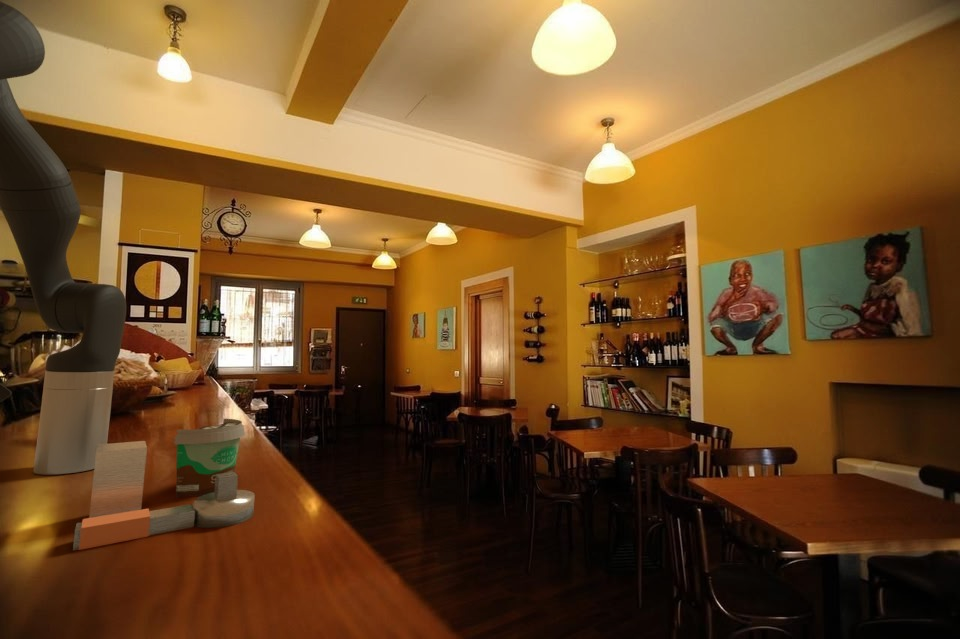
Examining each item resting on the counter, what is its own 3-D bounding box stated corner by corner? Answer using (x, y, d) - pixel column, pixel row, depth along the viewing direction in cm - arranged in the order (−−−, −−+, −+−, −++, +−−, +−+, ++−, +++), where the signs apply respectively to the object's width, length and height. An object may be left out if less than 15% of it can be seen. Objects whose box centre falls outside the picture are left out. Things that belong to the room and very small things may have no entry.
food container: (210, 501, 62) (216, 431, 63) (168, 499, 63) (175, 430, 63) (255, 477, 75) (260, 419, 76) (221, 476, 75) (226, 418, 76)
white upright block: (89, 514, 56) (97, 444, 57) (138, 506, 59) (144, 440, 60) (88, 527, 52) (96, 451, 53) (140, 518, 56) (147, 447, 56)
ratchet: (75, 535, 50) (81, 486, 51) (246, 504, 62) (249, 465, 62) (71, 558, 45) (77, 503, 45) (259, 519, 56) (262, 476, 57)
